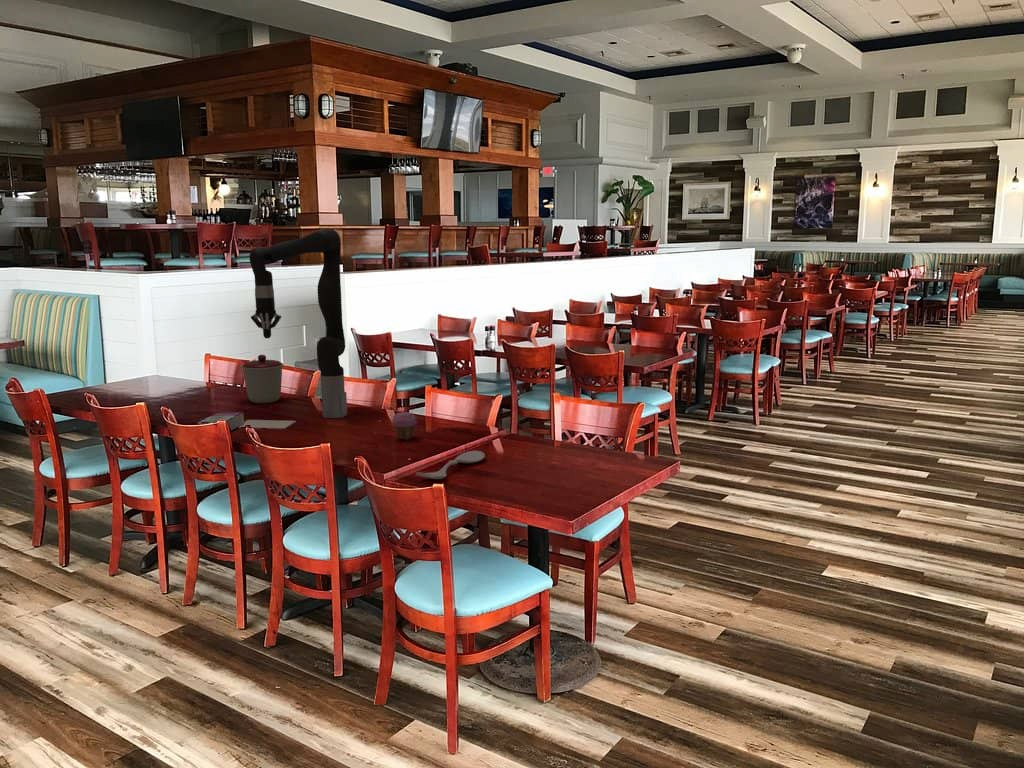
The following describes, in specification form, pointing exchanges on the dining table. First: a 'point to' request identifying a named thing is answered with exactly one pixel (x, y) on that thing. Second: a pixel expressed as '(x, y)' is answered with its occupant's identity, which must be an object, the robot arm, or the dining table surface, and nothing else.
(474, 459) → the spoon
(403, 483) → the dining table surface
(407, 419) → the cupcake
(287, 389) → the dining table surface
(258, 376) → the canister
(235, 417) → the candy bar box
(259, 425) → the placemat
